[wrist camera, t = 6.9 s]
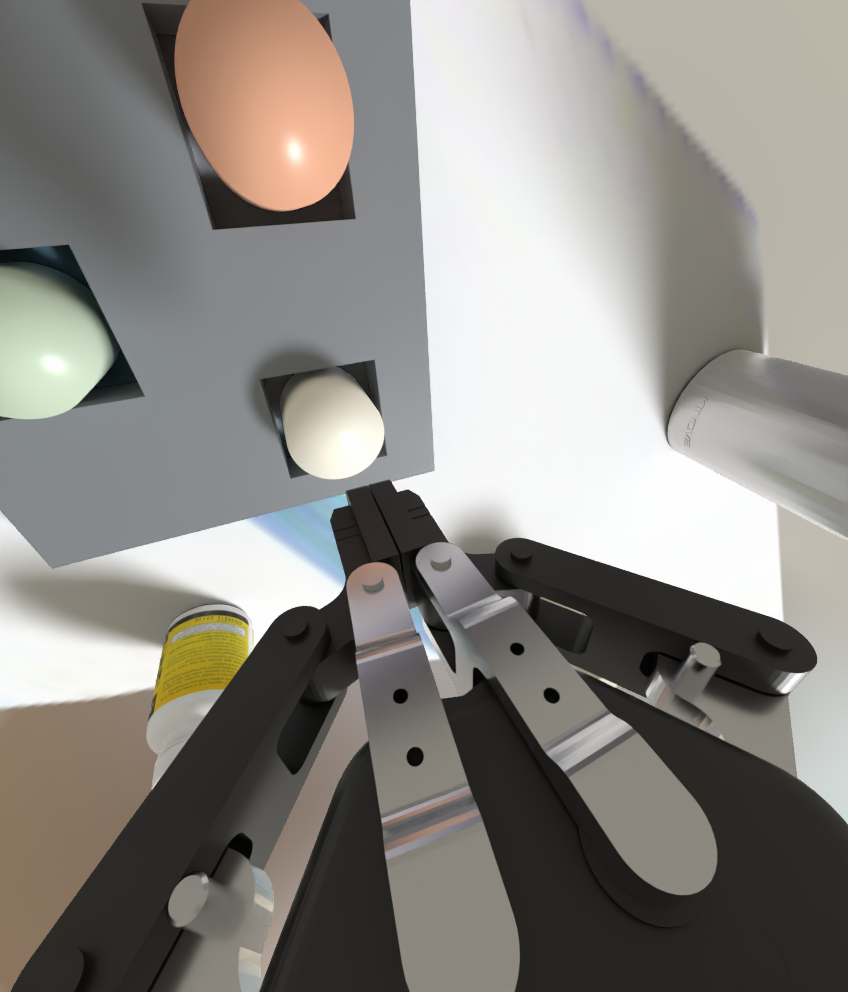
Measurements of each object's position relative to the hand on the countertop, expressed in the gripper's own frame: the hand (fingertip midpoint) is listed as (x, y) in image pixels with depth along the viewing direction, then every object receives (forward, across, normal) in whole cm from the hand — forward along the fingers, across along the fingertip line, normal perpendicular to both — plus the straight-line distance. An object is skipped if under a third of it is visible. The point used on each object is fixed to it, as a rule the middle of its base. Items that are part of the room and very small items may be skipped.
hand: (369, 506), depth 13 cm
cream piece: (+11, 0, 0) cm, 11 cm away
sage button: (+11, +10, -5) cm, 15 cm away
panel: (+11, +4, -5) cm, 13 cm away
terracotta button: (+9, 0, -11) cm, 14 cm away
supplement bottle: (+11, +11, +15) cm, 22 cm away
